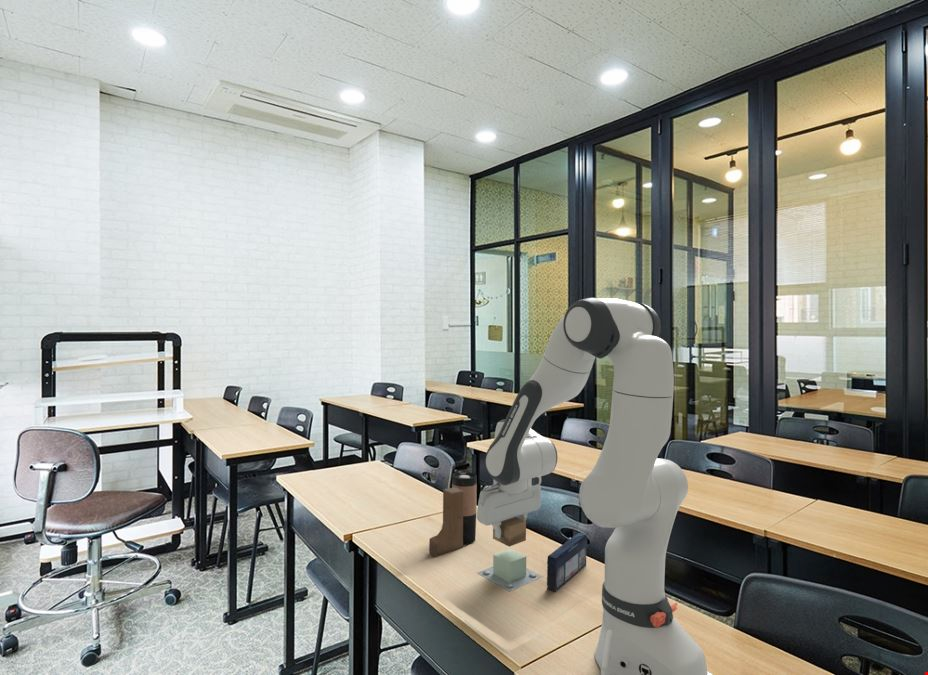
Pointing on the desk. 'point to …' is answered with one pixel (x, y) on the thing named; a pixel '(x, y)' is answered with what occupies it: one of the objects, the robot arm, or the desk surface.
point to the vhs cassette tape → (566, 562)
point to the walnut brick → (512, 531)
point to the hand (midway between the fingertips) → (509, 533)
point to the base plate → (512, 585)
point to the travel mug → (467, 503)
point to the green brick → (509, 565)
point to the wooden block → (449, 524)
